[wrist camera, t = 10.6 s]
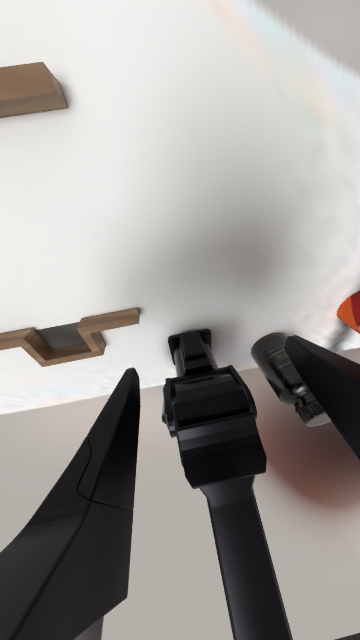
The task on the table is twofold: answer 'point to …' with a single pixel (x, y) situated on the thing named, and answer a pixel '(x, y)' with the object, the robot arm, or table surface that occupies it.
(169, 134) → the table surface
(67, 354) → the trap lane
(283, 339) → the supplement bottle
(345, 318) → the paper cup
